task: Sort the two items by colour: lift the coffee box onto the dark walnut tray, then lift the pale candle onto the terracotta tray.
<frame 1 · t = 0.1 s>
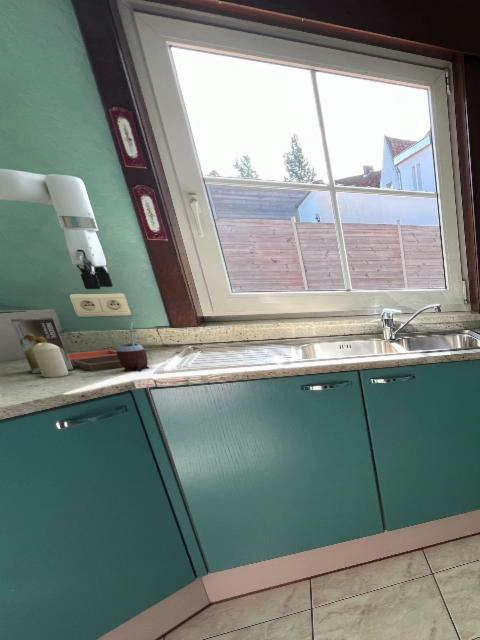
hand: (99, 287, 145), 26 cm above the worktop, tool pointing down, fingers open, 9 cm apart
terracotta tray: (93, 360, 172), on the worktop
walnut tray: (111, 365, 166), on the worktop
mate gourd: (137, 369, 162), on the worktop
coffee box: (52, 370, 158), on the worktop
candle: (56, 376, 152), on the worktop
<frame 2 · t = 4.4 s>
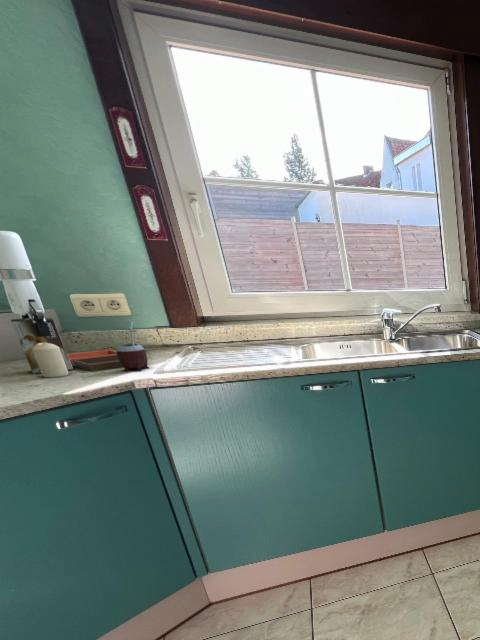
hand: (38, 334, 153), 11 cm above the worktop, tool pointing down, fingers closed on coffee box, 7 cm apart
coffee box: (52, 370, 158), on the worktop, touching gripper
everything else where it was.
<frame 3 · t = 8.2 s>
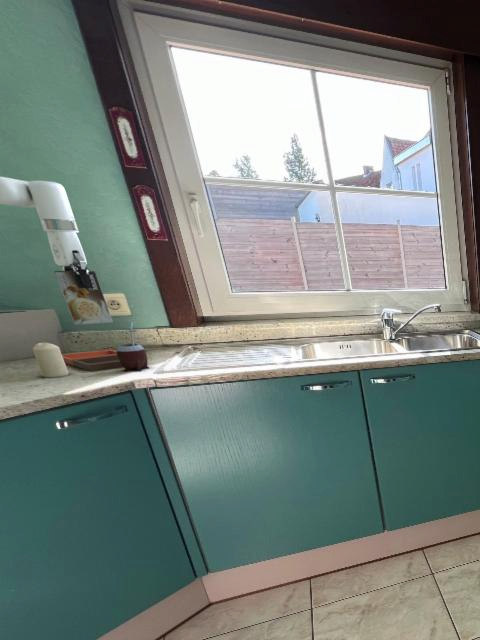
hand: (80, 286, 156), 25 cm above the worktop, tool pointing down, fingers closed on coffee box, 7 cm apart
coffee box: (93, 323, 161), point 14 cm above the worktop, touching gripper
everything else where it was.
when the fingers open (12 cm above the worktop, at t = 11.8 s): coffee box stays where it is, resting on walnut tray.
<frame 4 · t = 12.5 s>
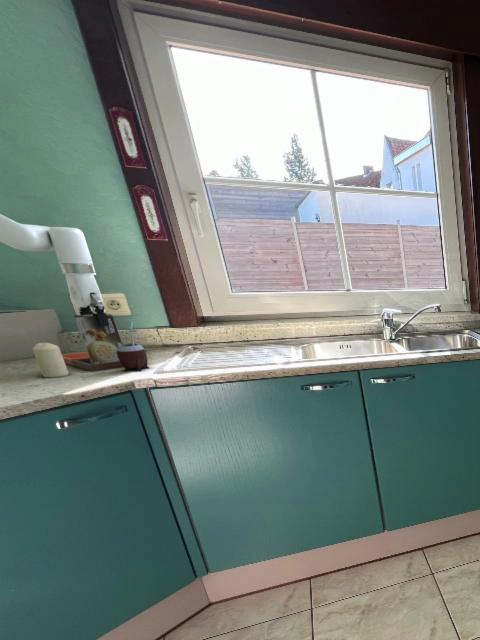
hand: (96, 324, 161), 13 cm above the worktop, tool pointing down, fingers open, 9 cm apart
coffee box: (110, 364, 166), resting on walnut tray
everything else where it was.
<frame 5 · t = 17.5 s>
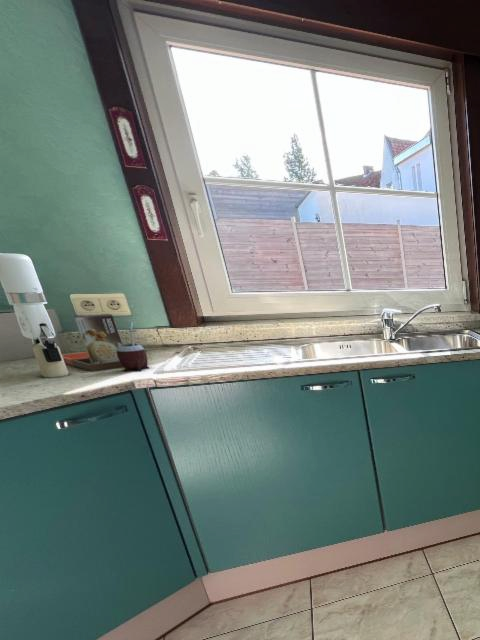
hand: (50, 359, 150), 5 cm above the worktop, tool pointing down, fingers closed on candle, 5 cm apart
candle: (56, 376, 152), on the worktop, touching gripper
everything else where it was.
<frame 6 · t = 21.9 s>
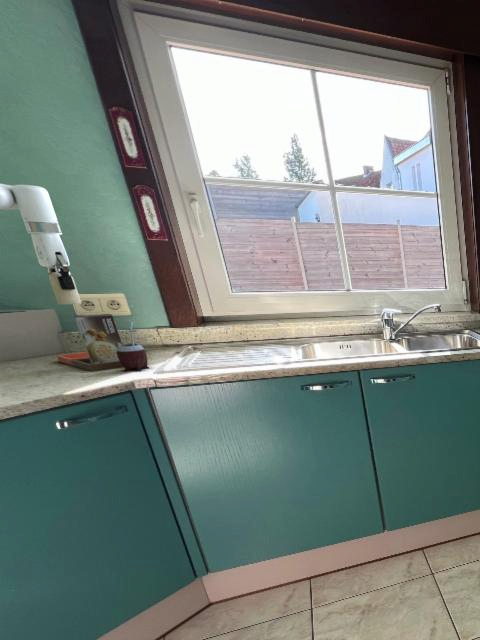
hand: (64, 288, 162), 24 cm above the worktop, tool pointing down, fingers closed on candle, 5 cm apart
candle: (70, 304, 164), point 19 cm above the worktop, touching gripper
everything else where it was.
when the fingers open (5 cm above the worktop, at t = 26.5 s): candle stays where it is, resting on terracotta tray.
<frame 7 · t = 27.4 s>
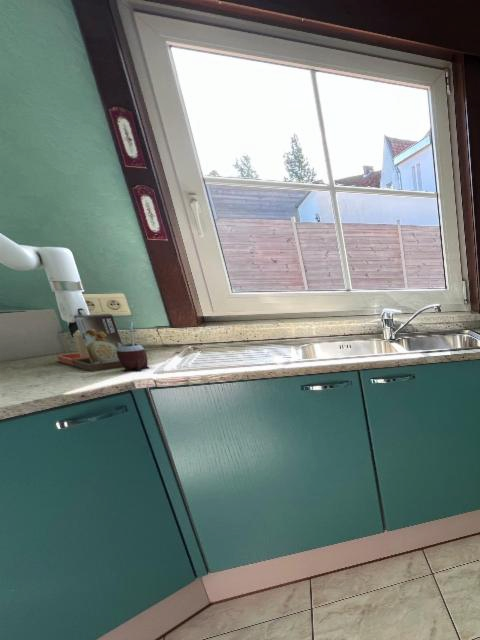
hand: (84, 338, 169), 7 cm above the worktop, tool pointing down, fingers open, 9 cm apart
candle: (92, 359, 172), resting on terracotta tray
everything else where it was.
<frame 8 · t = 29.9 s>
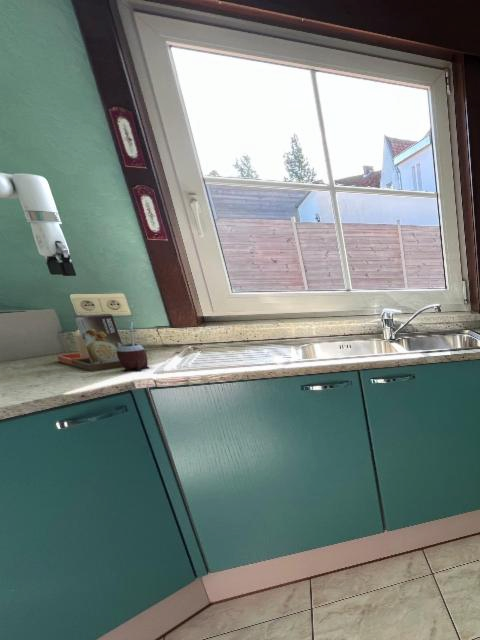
hand: (63, 275, 162), 28 cm above the worktop, tool pointing down, fingers open, 9 cm apart
nothing on the worktop moved.
at the end: coffee box inside the target area in the walnut tray (0.1 cm from its centre), point 0.3 cm above the walnut tray's base; candle inside the target area in the terracotta tray (0.0 cm from its centre), point 0.3 cm above the terracotta tray's base; coffee box tilted 0° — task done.
